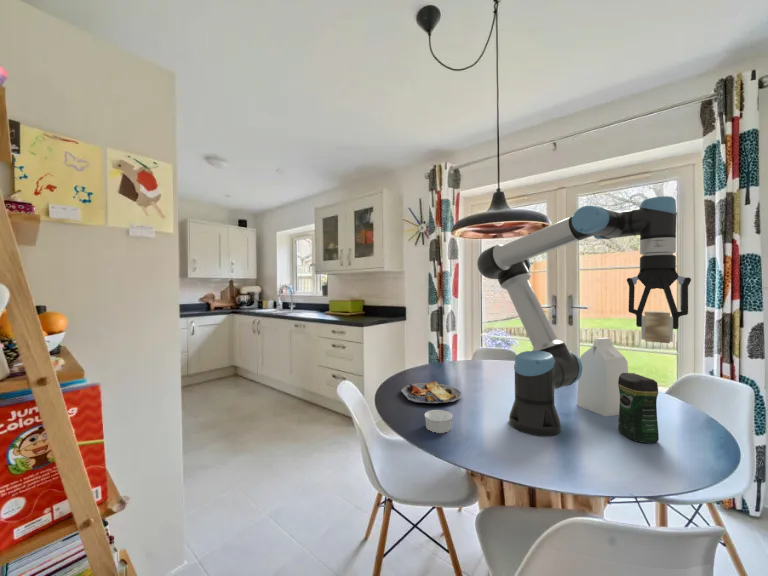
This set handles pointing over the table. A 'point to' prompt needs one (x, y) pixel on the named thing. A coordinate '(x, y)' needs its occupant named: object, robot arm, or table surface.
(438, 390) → the food plate
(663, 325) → the beech block
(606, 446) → the table surface
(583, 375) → the milk
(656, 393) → the coffee jar
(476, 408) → the table surface
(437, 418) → the ramekin
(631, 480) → the table surface
